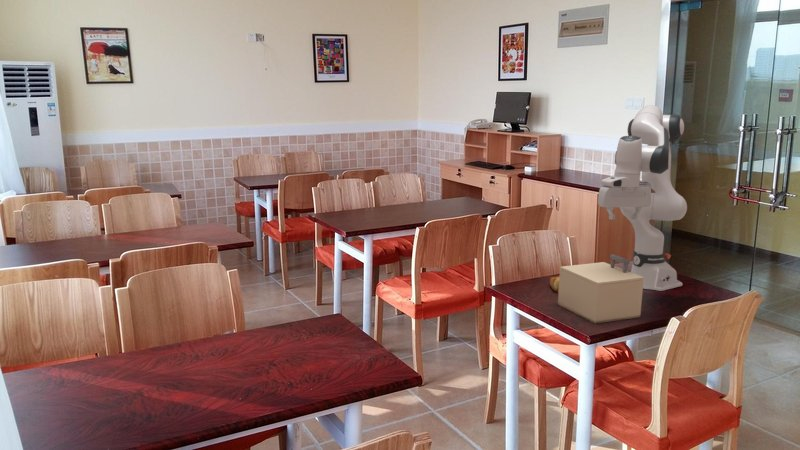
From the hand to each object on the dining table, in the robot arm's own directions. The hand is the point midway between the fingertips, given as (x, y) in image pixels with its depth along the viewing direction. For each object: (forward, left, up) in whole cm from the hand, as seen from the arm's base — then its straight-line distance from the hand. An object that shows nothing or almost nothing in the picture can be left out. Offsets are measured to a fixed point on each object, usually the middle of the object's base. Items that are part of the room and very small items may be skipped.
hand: (623, 219), depth 238 cm
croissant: (+6, -24, -35) cm, 43 cm away
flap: (+8, -1, -20) cm, 22 cm away
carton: (+8, -1, -34) cm, 35 cm away
